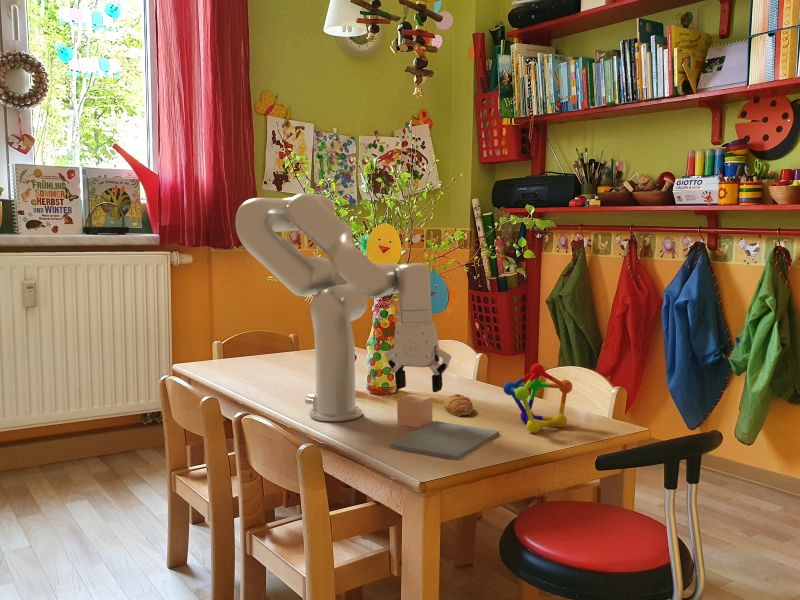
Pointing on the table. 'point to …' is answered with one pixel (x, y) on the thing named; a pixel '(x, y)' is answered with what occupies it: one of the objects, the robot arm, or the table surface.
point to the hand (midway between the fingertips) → (418, 389)
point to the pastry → (458, 405)
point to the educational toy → (522, 394)
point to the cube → (414, 410)
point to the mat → (445, 440)
